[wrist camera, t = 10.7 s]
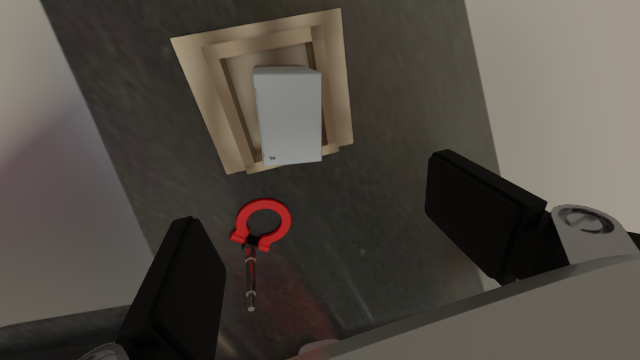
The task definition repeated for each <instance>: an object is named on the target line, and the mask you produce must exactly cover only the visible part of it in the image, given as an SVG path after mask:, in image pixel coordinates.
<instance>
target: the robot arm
mask: <svg viewBox="0 0 640 360" xmlns="http://www.w3.org/2000/svg"><path fill="white" fill-rule="evenodd" d="M546 205H547V201H545V200H543V199H541V198H539V197H538V196H536V195H534V194H532V193H530V192H528V191H526V190H524V189H523V188H521V187H519V186H517V185H515V184H513V183H511V182H509V181H507V180H506V179H504V178H502V177H500V176H498V175H496V174H495V173H493V172H491V171H489V170H487V169H485V168H483V167H482V166H480V165H478V164H476V163H474V162H472V161H470V160H468V159H467V158H465V157H463V156H461V155H459V154H457V153H455V152H454V151H452V150H449V149H446V150H442V151H438V152H434V153H433V154H432V157H430V158H429V161H428V174H427V187H426V199H425V212H426V214H427V216H428V217H429V218H430V219H431V220H432V221H433V222H434V223H435V224H436V225H437V226H438V227H439V228H440V229H441V230H442V231H443V232H444V233H445V234H446V235H447V236H448V237H449V238H450V239H451V240H452V241H453V242H454V243H455V244H456V245H457V246H458V247H459V248H460V249H461V250H462V251H463V252H464V253H465V254H466V255H467V256H468V257H469V258H470V259H471V260H472V261H473V262H474V263H475V264H476V265H477V266H478V267H479V268H480V269H481V270H482V271H483V272H484V273H485V274H486V275H487V276H488V277H490V278H494V279H495V280H496V281H497V282H498V283H499V284H500V285H501V286H502V287H499V288H496V289H493V290H490V291H487V292H484V293H481V294H478V295H475V296H472V297H469V298H466V299H463V300H460V301H457V302H454V303H451V304H448V305H445V306H442V307H439V308H436V309H433V310H430V311H427V312H424V313H421V314H418V315H415V316H412V317H409V318H406V319H403V320H400V321H397V322H394V323H391V324H388V325H385V326H382V327H379V328H376V329H374V330H371V331H368V332H365V333H362V334H359V335H356V336H353V337H350V338H347V339H344V340H341V341H338V342H335V343H333V344H330V345H327V346H324V347H321V348H318V349H315V350H312V351H309V352H306V353H303V354H301V355H298V356H295V357H292V358H289V359H286V360H640V234H637V233H632V232H627V231H625V229H624V228H623V227H622V225H621V224H620V223H619V222H618V221H617V220H616V219H615V218H613V217H611V216H609V215H608V214H606V213H604V212H601V211H599V210H596V209H593V208H590V207H586V206H580V205H568V204H567V205H559V206H557V207H554V208H553V209H552V211H551V212H550V213H549V212H548V211H546V210H545V208H546ZM225 281H226V268H225V266H224V264H223V262H222V260H221V258H220V256H219V255H218V253H217V251H216V249H215V247H214V246H213V244H212V242H211V240H210V238H209V236H208V235H207V233H206V231H205V229H204V227H203V226H202V224H201V222H200V220H199V219H197V218H196V219H194V218H193V217H192V216H188V217H185V218H181V219H177V220H174V221H173V222H172V223H171V225H170V228H169V230H168V232H167V234H166V236H165V238H164V240H163V242H162V244H161V246H160V248H159V250H158V252H157V254H156V256H155V258H154V260H153V262H152V264H151V266H150V268H149V270H148V272H147V274H146V277H145V278H144V281H143V283H142V285H141V287H140V289H139V291H138V293H137V295H136V297H135V299H134V301H133V303H132V305H131V307H130V309H129V311H128V313H127V315H126V317H125V319H124V321H123V323H122V325H121V327H120V329H119V331H118V332H119V336H118V338H117V340H116V342H115V343H109V344H105V345H102V346H100V347H98V348H96V349H93V350H92V351H90V352H89V353H87V354H86V355H84V356H83V357H81V358H80V359H79V360H214V359H215V352H216V345H217V338H218V331H219V324H220V317H221V309H222V302H223V295H224V288H225ZM510 283H511V284H510ZM507 284H508V285H507ZM504 285H505V286H504Z"/></svg>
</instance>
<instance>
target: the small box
mask: <svg viewBox="0 0 640 360" xmlns="http://www.w3.org/2000/svg"><path fill="white" fill-rule="evenodd" d="M252 80H253V86H254V92H255V100H256V107H257V115H258V123H259V131H260V139H261V148H262V158H263V166H275V165H286V164H296V163H307V162H316V161H322V73H320V72H318V71H315V70H313V69H310V68H308V67H305V66H302V65H256V66H254V68H253V72H252Z"/></svg>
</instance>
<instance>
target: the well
mask: <svg viewBox="0 0 640 360" xmlns="http://www.w3.org/2000/svg"><path fill="white" fill-rule="evenodd" d="M170 40H171V42H172V45H173V47H174V49H175V52H176V54H177V57H178V59H179V61H180V64H181V66H182V68H183V71H184V73H185V76H186V78H187V80H188V83H189V85H190V87H191V90H192V92H193V95H194V97H195V99H196V102H197V104H198V106H199V109H200V111H201V114H202V116H203V118H204V121H205V123H206V125H207V128H208V130H209V133H210V135H211V137H212V140H213V142H214V144H215V147H216V149H217V152H218V154H219V156H220V159H221V161H222V164H223V166H224V168H225V171H226V173H227V174H231V173H235V172H239V171H243V170H246V172H247V174H251V173H255V172H259V171H263V170H267V169H271V168H275V167H279V166H283V165H275V166H263V158H262V148H261V139H260V131H259V123H258V115H257V107H256V100H255V92H254V86H253V80H252V72H253V68H254V66H256V65H302V66H305V67H308V68H310V69H313V70H315V71H318V72H320V73H322V156H323V155H327V154H331V153H335V152H339V148H338V147H340V146H344V145H348V144H352V143H353V134H352V123H351V113H350V102H349V92H348V82H347V71H346V61H345V50H344V40H343V29H342V19H341V9H340V8H337V9H331V10H326V11H320V12H315V13H309V14H303V15H298V16H292V17H287V18H281V19H276V20H270V21H264V22H259V23H253V24H248V25H242V26H237V27H231V28H225V29H220V30H214V31H209V32H203V33H198V34H192V35H186V36H181V37H175V38H170ZM286 165H287V164H286Z"/></svg>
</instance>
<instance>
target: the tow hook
mask: <svg viewBox="0 0 640 360" xmlns="http://www.w3.org/2000/svg"><path fill="white" fill-rule="evenodd" d="M265 208H267V209H272V210H275V211H276V212H277V213H279V215H280V216H281V223H280V226H279V227H278V228H277V229H276V230H275V231H273V232H272V233H269V234H264V235H262V236H261V237H260V239H259V240H258V239H257V238H254V237H251V236H249V235H248V234H249V228H248V227H247V224H246V222H247V219H248V217H249V215H251V214H252V213H253V212H254V211H256V210H259V209H265ZM290 224H291V216H290V213H289V210H288V209H287V207H286V206H285V205H284V204H283V203H281V202H280V201H278V200H275V199H271V198H259V199H256V200H253V201H251V202H249V203H247V204H246V205H245V206H243V207H242V208H241V210H240V211H239V213H238V215H237V219H236V229H235V231H232V232H231V234H230V237H229V239H230V240H233V241H236V242H239V243H242V251H243V252H245V264H246V296H247V297H248V310H249V311H253V310H254V309H255V303H254V296H255V295H256V281H255V263H256V251H257V250H258V249H259V250H262V251H265V252H267V251H268V250H269V248H270V244H271V243H272V242H275V241H277V240H278V239H280V238H282V237H283V236H284V235H285V234H286V233H287V231H288V230H289V227H290Z"/></svg>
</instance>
